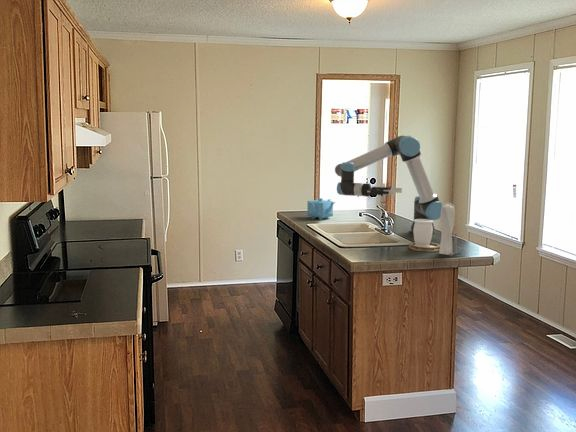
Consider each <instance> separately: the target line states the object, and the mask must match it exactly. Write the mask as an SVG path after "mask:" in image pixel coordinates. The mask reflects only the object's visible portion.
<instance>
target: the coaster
mask: <svg viewBox="0 0 576 432" xmlns="http://www.w3.org/2000/svg"><path fill="white" fill-rule="evenodd" d="M415 244H416V243H415V241H414V242H410V243H408V249H410V250H411V251H416V252H428V253H433V252H439V250H440V243H437V242H432V241H431V242H430V244H429V245H430V247H428V248H425V247H417V246H415Z"/></svg>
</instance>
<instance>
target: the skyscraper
mask: <svg viewBox="0 0 576 432" xmlns="http://www.w3.org/2000/svg"><path fill="white" fill-rule="evenodd" d="M442 204H443V205H444V206H443V205H442V208H441V218H440V232H441V236H440V243H439V245H440V250H439V251H438V254H439V255H445V256H454V255H456V254H458V253H457V248H458V247H457V245H458V244H457V242H458V238H457V233H455V234H454V238H452V237H453V234H452V233H453V229H454V227H455V225H454V224H455V219H456V218H455V217H456V209H455V207H456V206H455V205H454V204H453V203H451V202H444V203H442ZM453 240H454V241H453Z"/></svg>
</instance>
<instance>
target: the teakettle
mask: <svg viewBox="0 0 576 432" xmlns="http://www.w3.org/2000/svg"><path fill="white" fill-rule="evenodd" d="M334 204H336V202H334V201H331V198H330V199H326V200H324V199H323V197H321V198H318V199H313V200H307V208H306V209H307V210H306V211H307V213H306V214H307V217H310V219H311V220H315V219H316V218H317V217H318V220H319V221H323V220H324V219H325V220H329V219H330V217H333V216H334V214H333V213H334Z"/></svg>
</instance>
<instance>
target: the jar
mask: <svg viewBox="0 0 576 432" xmlns="http://www.w3.org/2000/svg"><path fill="white" fill-rule="evenodd" d="M413 220H414V219H413ZM414 222H415V224H414V229H413V233H412V234H413V239H414V240H413V241H414V242H415V243H416V244H415V246H417V247H425V248H428V247H430V245H429V244H430V242H431V243H432V238H433V234H434V233H433V226H432V223H433V224H434V220H429V219H415V220H414Z"/></svg>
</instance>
